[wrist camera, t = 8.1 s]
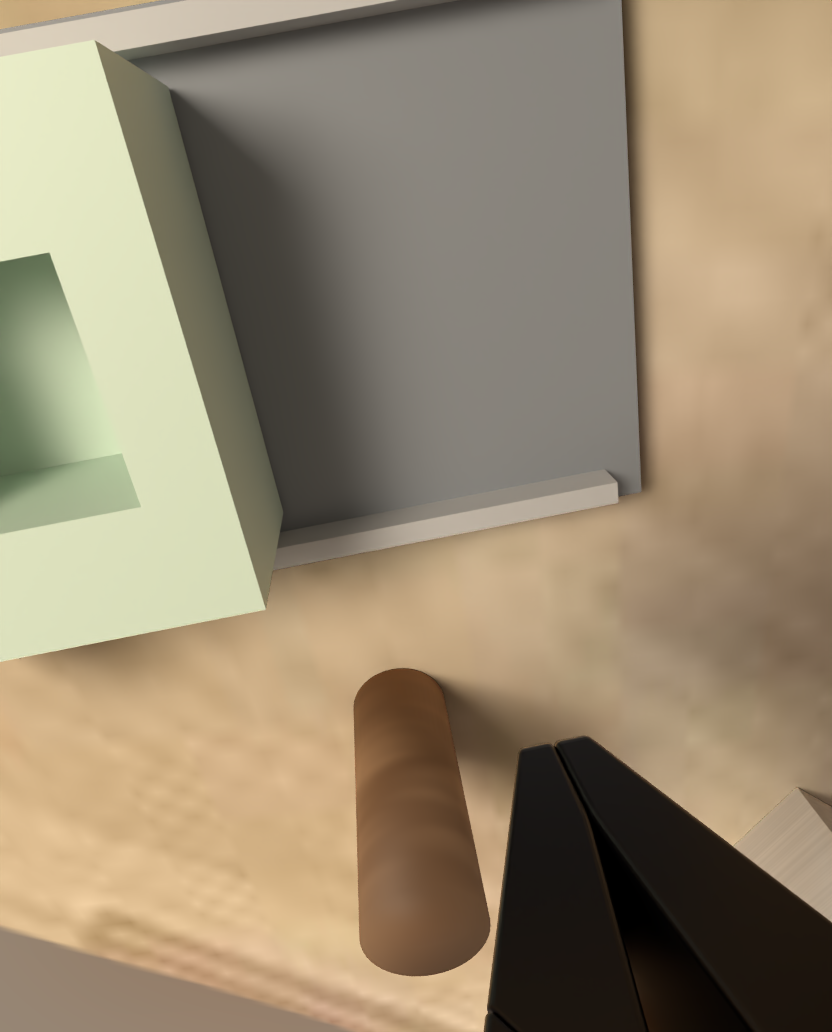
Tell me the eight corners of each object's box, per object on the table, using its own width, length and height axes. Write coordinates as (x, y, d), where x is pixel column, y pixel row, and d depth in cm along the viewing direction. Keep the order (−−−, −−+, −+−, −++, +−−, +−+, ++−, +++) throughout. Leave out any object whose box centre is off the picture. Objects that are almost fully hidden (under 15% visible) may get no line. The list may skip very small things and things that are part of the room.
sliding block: (168, 86, 15) (94, 39, 11) (283, 512, 19) (265, 609, 15) (-211, 155, 15) (-449, 138, 10) (-13, 569, 19) (-123, 685, 15)
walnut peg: (437, 660, 23) (481, 874, 16) (450, 732, 24) (497, 961, 17) (345, 678, 23) (347, 901, 16) (363, 749, 24) (373, 987, 17)
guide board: (601, -66, 16) (741, -205, 10) (628, 479, 21) (728, 578, 16) (-314, 99, 15) (-675, 46, 10) (-50, 611, 21) (-189, 759, 15)
